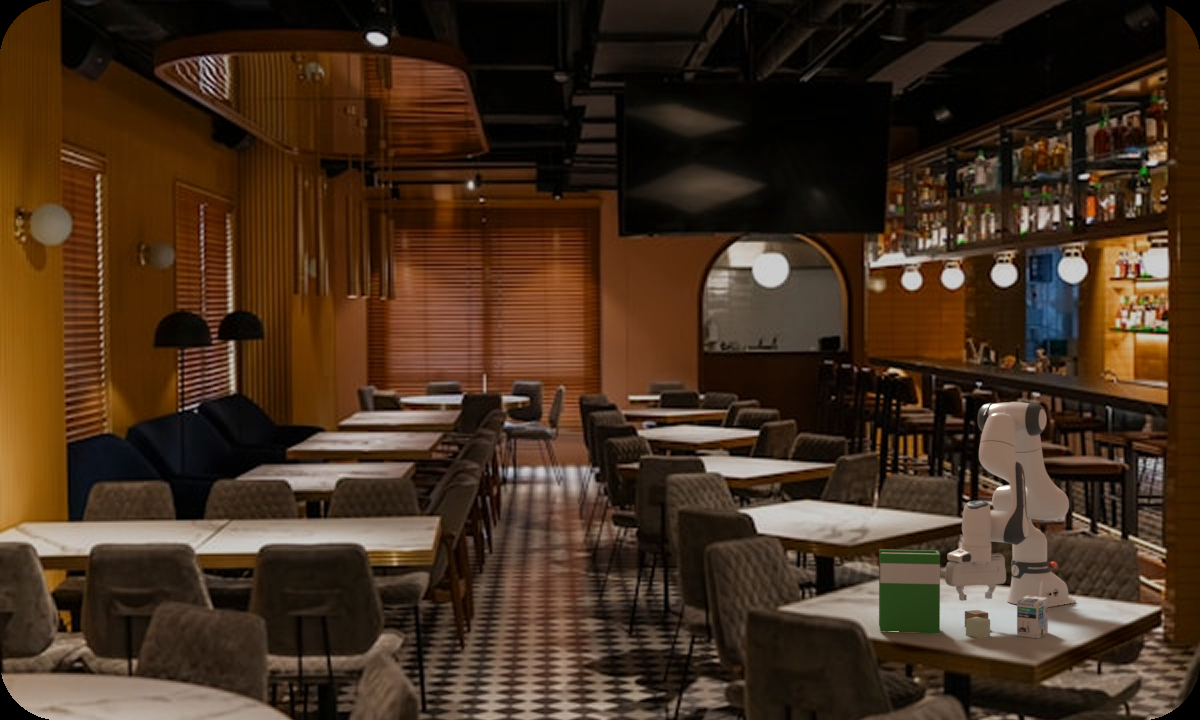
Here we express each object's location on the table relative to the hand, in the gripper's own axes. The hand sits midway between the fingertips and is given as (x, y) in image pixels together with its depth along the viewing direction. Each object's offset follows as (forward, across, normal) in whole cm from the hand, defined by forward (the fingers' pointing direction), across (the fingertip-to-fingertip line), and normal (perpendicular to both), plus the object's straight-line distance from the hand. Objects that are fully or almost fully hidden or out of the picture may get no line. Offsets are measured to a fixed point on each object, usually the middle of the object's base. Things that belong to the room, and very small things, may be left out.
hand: (975, 599), depth 450 cm
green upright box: (+9, +20, -5) cm, 23 cm away
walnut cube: (+9, -1, 0) cm, 9 cm away
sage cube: (+9, +5, +9) cm, 14 cm away
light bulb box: (+9, -11, +14) cm, 20 cm away
